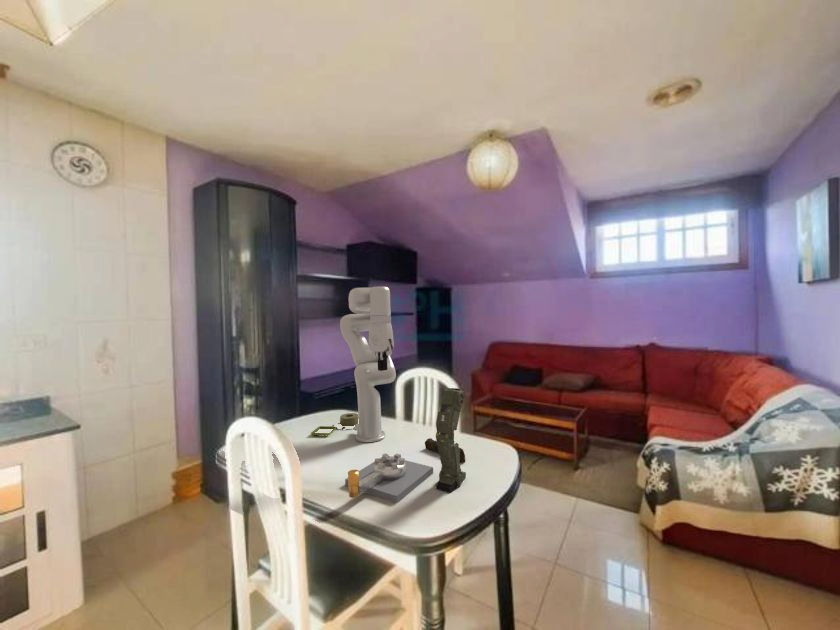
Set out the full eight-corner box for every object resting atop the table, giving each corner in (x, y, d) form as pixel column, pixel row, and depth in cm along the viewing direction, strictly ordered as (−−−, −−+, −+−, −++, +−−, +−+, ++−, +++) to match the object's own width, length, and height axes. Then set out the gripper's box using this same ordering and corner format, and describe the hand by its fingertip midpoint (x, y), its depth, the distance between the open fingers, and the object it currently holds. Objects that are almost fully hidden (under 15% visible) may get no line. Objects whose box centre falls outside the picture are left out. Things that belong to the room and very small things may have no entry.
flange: (355, 421, 157) (370, 411, 171) (326, 419, 162) (343, 410, 176) (356, 432, 157) (370, 421, 171) (327, 429, 162) (343, 419, 176)
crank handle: (388, 462, 119) (387, 443, 119) (412, 469, 113) (411, 448, 113) (338, 493, 100) (337, 470, 100) (363, 503, 94) (362, 478, 94)
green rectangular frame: (337, 431, 159) (337, 426, 159) (329, 438, 151) (328, 433, 151) (319, 430, 161) (319, 426, 161) (310, 437, 152) (310, 432, 152)
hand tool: (424, 449, 135) (423, 437, 134) (432, 446, 137) (431, 435, 137) (459, 466, 120) (458, 452, 120) (467, 462, 122) (467, 449, 122)
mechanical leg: (447, 497, 99) (455, 388, 104) (425, 490, 102) (434, 386, 108) (467, 486, 110) (473, 389, 115) (447, 481, 114) (454, 387, 119)
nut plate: (345, 485, 109) (345, 478, 109) (385, 460, 126) (385, 454, 126) (396, 503, 98) (396, 495, 98) (433, 473, 115) (433, 466, 115)
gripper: (360, 320, 131) (362, 369, 131) (384, 321, 120) (386, 374, 120) (377, 319, 136) (379, 366, 137) (401, 319, 125) (403, 370, 125)
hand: (382, 370), depth 128 cm, fingers closed
